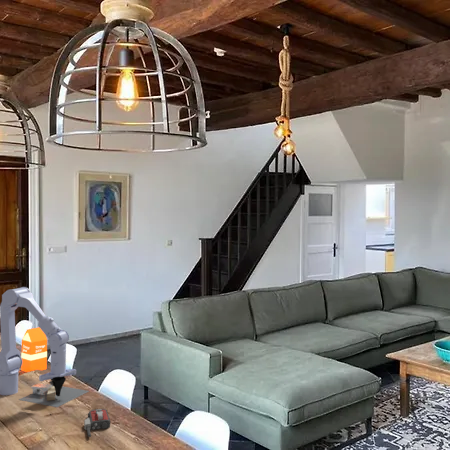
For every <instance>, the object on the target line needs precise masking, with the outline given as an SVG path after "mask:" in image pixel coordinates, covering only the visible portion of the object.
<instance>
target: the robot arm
mask: <svg viewBox="0 0 450 450" xmlns="http://www.w3.org/2000/svg"><path fill="white" fill-rule="evenodd" d="M18 308H25V309H26V310H27V311H28V312H29V313H30V314H31V315H32V316H33V317H34V319H36V321H38V325H37V326H38V327H40V329H41V330H42V331H43V332H44V334H45V335H46V338H47V345H49V348H50V372H47V373H44V374H40V375H39V377H38V381H39V382H44V381H48V380H50V381H52V383H53V385H54V387H55V391H56V395H57V396H60V392H61V389H62V386H63V387H64V384H65V382H66V381H67V380H66V376H67V377H68V376H72V375H73V376H75V375H77V369H75V368H72V369H71V368H69V369H66V368H67V367H66V366H67V365H66V364H67V361H66V360H67V359H66V358H67V343H68V342H69V340H70V339H69V338H70V337H69V333H68V331H67V330H66V329H63V328H61V327H60V326H59V325H58V324H57V323H56V322H55V319H54V318H53V317H51V316H48V315H46V314H45V313H44V311H43V310H42V308H41V307H40V306H39V304H38V303H37V301H36V300H35V299H34V294H33V292H31V291H30V289H29V288H28V287H27V286H22V287H18V288H13V289H7V290H6V291H5V292H4V293H3V294H1V302H0V341H1V345H0V346H1V350H0V395H1V396H12V395H16V394H17V393H18V392H19V371H20V369H21V366H22V358H21V351H20V350H19V349H18V348H17V341H16V340H17V339H16V338H17V336H16V313H15V311H16V310H17V309H18Z"/></svg>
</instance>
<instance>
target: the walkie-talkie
mask: <svg viewBox="0 0 450 450" xmlns="http://www.w3.org/2000/svg"><path fill="white" fill-rule="evenodd" d="M108 413H109V412H108V410H107V409H106V408H98V409H91V410H89V412H88V413H87V418H86V419H84V421H83V422H84V431H86V433H87V437H88V438H91V437H92V433H91V430H93V431H94V430H102V429H109V428H110V427H111V420H110V416H109V414H108Z"/></svg>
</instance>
